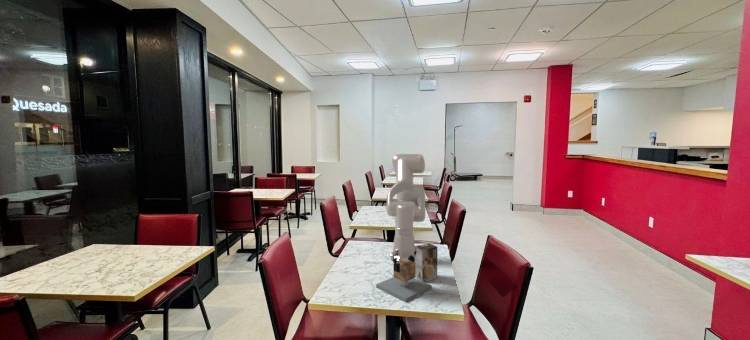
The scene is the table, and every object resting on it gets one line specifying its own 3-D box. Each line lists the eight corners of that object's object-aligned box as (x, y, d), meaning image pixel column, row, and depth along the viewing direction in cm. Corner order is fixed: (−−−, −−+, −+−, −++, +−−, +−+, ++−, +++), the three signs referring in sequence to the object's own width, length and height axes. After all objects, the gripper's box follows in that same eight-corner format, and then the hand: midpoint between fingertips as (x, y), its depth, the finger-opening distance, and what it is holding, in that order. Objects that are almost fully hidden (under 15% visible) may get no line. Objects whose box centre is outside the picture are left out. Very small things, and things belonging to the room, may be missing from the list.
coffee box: (429, 273, 157) (430, 242, 156) (437, 278, 151) (438, 246, 150) (414, 277, 153) (414, 245, 152) (422, 282, 147) (422, 249, 146)
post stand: (402, 276, 154) (402, 255, 153) (432, 288, 141) (432, 266, 140) (376, 287, 142) (376, 265, 141) (405, 302, 129) (405, 277, 128)
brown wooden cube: (404, 272, 146) (404, 258, 145) (415, 277, 141) (415, 262, 140) (393, 276, 142) (393, 262, 141) (404, 282, 136) (404, 266, 136)
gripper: (410, 226, 148) (410, 262, 149) (384, 233, 136) (384, 271, 137) (423, 229, 142) (422, 266, 143) (397, 236, 131) (397, 276, 132)
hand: (404, 268), depth 140 cm, fingers open, 9 cm apart
